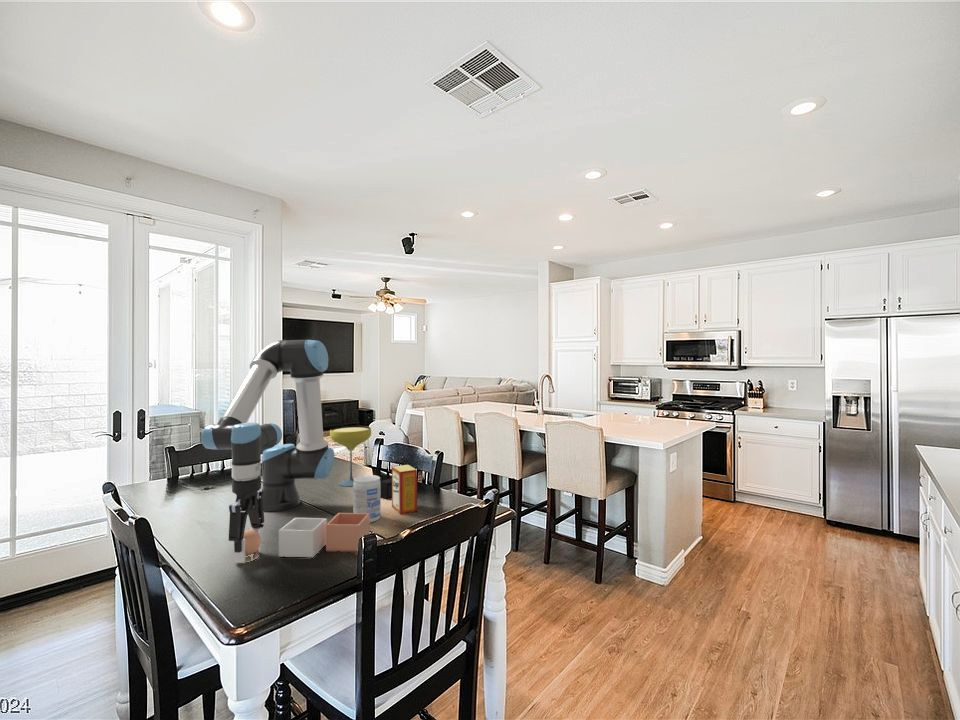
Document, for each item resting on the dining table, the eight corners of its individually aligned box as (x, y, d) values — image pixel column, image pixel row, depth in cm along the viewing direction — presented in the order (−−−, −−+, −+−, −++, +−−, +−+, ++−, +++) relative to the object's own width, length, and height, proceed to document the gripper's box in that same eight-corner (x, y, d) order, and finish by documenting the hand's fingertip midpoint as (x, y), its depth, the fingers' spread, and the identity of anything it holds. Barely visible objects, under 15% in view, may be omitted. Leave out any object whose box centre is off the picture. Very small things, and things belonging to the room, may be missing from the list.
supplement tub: (371, 525, 158) (371, 482, 158) (347, 522, 161) (347, 480, 161) (385, 515, 168) (385, 475, 167) (362, 513, 170) (362, 473, 170)
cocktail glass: (341, 477, 220) (340, 425, 219) (377, 478, 217) (377, 425, 217) (323, 488, 202) (322, 431, 201) (362, 489, 199) (362, 432, 199)
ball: (228, 559, 130) (228, 535, 130) (242, 549, 137) (242, 525, 137) (252, 560, 129) (252, 535, 129) (265, 549, 136) (265, 526, 136)
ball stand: (230, 563, 130) (230, 558, 130) (243, 553, 136) (243, 548, 136) (252, 563, 129) (251, 559, 129) (264, 553, 136) (263, 549, 136)
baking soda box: (392, 507, 177) (391, 465, 177) (408, 504, 180) (407, 463, 180) (400, 514, 169) (400, 471, 169) (417, 511, 172) (416, 468, 172)
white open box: (278, 557, 133) (278, 530, 133) (295, 543, 143) (294, 517, 143) (313, 558, 133) (312, 531, 133) (327, 543, 143) (326, 518, 143)
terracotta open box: (326, 551, 138) (325, 524, 137) (338, 537, 148) (338, 512, 148) (359, 552, 137) (359, 525, 137) (369, 538, 147) (369, 513, 147)
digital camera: (389, 500, 185) (388, 483, 185) (380, 498, 188) (379, 481, 188) (407, 494, 193) (407, 477, 193) (398, 492, 196) (398, 475, 196)
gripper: (239, 487, 122) (240, 573, 123) (276, 468, 142) (277, 542, 143) (212, 487, 123) (213, 572, 123) (253, 468, 143) (254, 541, 143)
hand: (247, 556), depth 133 cm, fingers closed on ball, 7 cm apart
